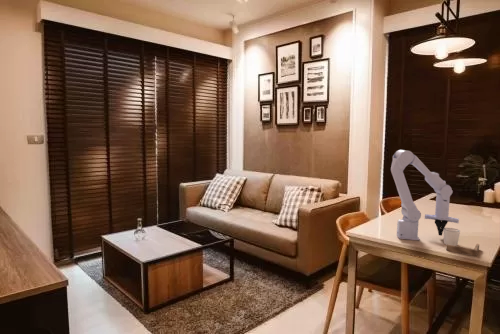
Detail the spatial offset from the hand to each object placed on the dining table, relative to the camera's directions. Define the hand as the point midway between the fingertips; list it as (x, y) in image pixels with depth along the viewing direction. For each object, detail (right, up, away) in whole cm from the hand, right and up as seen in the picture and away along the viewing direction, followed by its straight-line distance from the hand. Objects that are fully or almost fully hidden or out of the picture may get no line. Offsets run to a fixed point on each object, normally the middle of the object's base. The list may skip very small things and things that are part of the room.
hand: (440, 235), depth 166 cm
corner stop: (+2, -4, -19) cm, 20 cm away
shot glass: (+1, -3, -7) cm, 8 cm away
